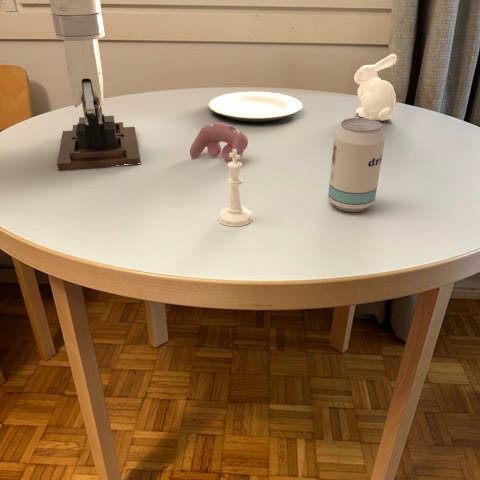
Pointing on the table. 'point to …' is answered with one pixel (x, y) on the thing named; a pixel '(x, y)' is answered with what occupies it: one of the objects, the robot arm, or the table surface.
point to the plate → (255, 106)
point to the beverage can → (356, 164)
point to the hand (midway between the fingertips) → (97, 141)
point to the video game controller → (212, 138)
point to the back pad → (109, 132)
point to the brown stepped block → (98, 149)
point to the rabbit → (375, 91)
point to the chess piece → (234, 197)
